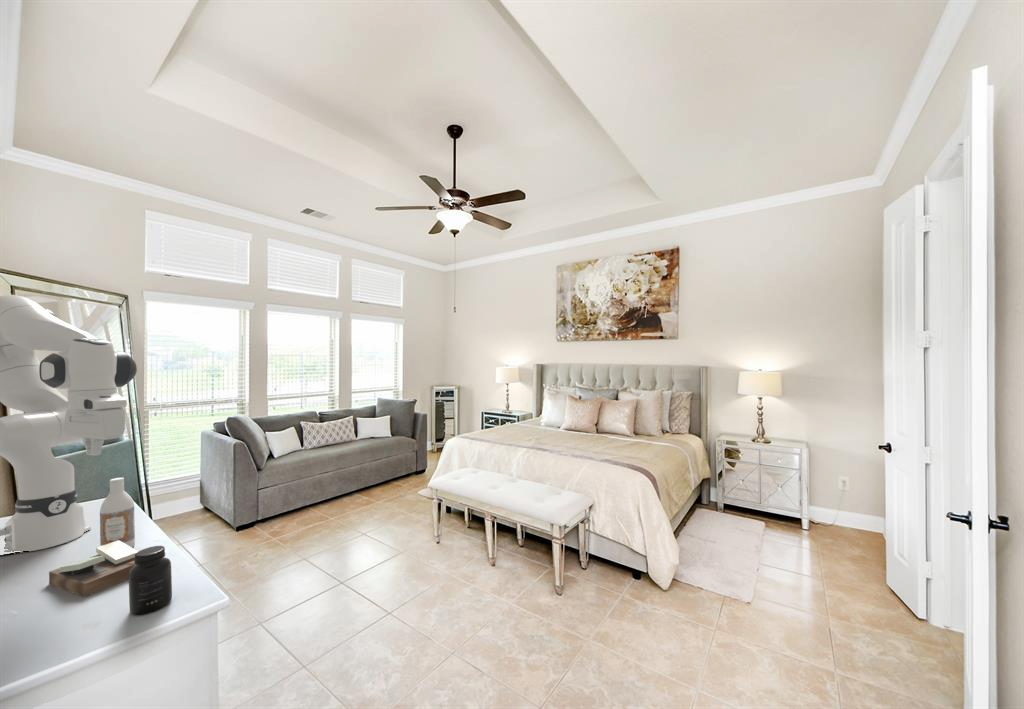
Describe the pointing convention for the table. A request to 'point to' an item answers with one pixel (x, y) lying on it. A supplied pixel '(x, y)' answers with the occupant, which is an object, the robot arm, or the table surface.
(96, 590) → the switch plate
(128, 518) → the bath foam
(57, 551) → the table surface
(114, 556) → the block
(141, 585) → the supplement bottle
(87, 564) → the block
